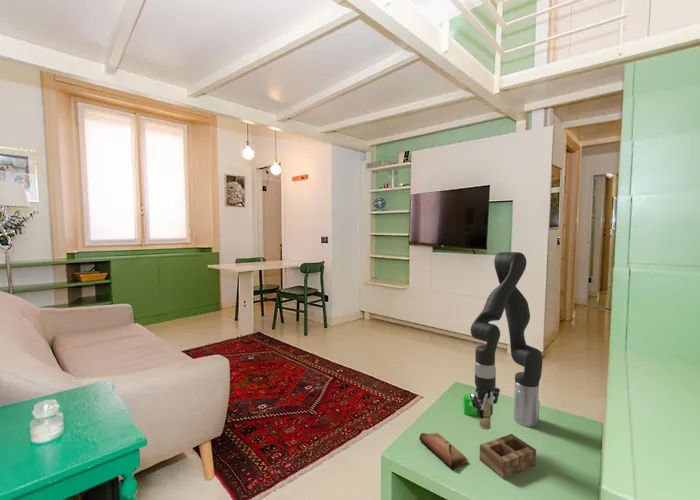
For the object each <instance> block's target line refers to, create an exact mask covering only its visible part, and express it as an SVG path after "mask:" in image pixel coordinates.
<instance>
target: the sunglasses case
mask: <svg viewBox="0 0 700 500" xmlns="http://www.w3.org/2000/svg"><path fill="white" fill-rule="evenodd" d="M418 438H419V441H420V442H421V443H422V444H424V445H425V446H426V447H427V449H428V448H429V450H430V451H432V452H433V453H434V455H435V456H437V457H438V458H439V459H440V460H441V461H442V462H443V463H444V464H445V465H446V466H447V467H448V468H450V469H451V470H455V469H457V468H461V467H462V466H464V465H465V464H466V463H467V462H468V461H469V459H468V458H467V457H466V456H465V455H464V454H463V453H462V452H461V451H460V450H458V449H457V448H456V447H455V446H454V445H453V444H452V443H450V441H448V440H447V439H446V438H444V437H443V436H442V435H441V434H439V432H435V433H434V432H433V433H432V432H431V433H426V432H421V433H420V434H419V437H418Z"/></svg>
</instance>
